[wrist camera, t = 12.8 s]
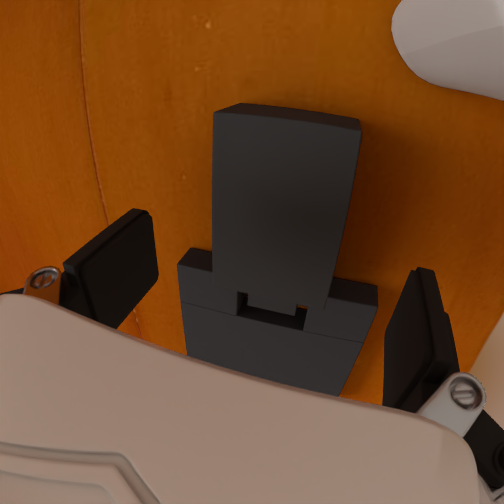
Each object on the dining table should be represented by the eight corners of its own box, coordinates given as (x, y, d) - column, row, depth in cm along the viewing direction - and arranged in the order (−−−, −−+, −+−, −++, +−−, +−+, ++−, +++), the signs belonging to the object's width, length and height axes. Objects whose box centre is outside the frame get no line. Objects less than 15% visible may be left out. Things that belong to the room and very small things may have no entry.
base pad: (377, 285, 18) (378, 307, 17) (332, 394, 25) (329, 413, 23) (190, 247, 21) (176, 264, 19) (199, 361, 27) (190, 378, 26)
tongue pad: (358, 119, 14) (362, 131, 11) (321, 304, 20) (314, 343, 17) (239, 102, 15) (212, 111, 12) (232, 284, 21) (213, 320, 19)
